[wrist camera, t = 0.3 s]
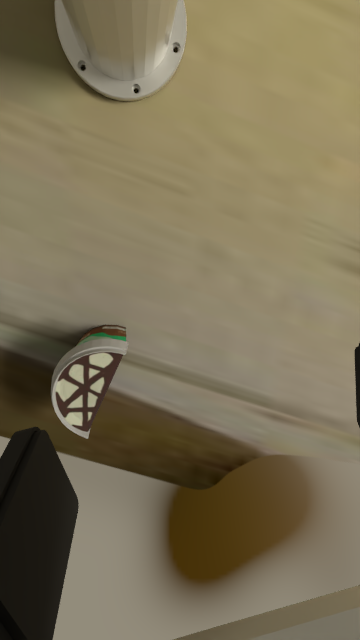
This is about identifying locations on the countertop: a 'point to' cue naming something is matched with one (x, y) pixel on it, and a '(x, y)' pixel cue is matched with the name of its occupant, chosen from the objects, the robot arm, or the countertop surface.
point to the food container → (87, 376)
